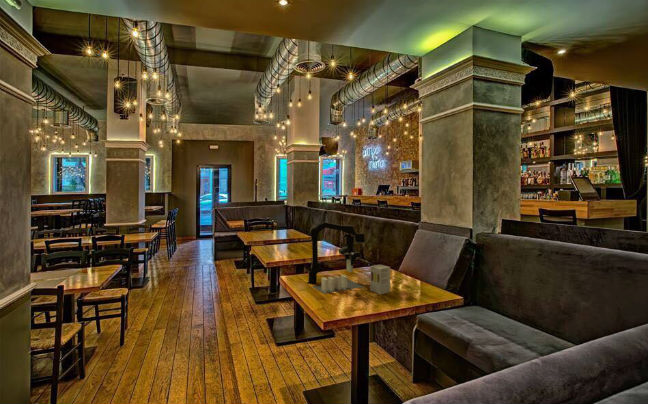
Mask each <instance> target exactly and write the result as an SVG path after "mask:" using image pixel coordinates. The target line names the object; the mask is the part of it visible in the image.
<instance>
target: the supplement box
mask: <svg viewBox="0 0 648 404" xmlns="http://www.w3.org/2000/svg"><path fill="white" fill-rule="evenodd" d="M369 277H370V281H369V283H370V285H369V288H370V289H369V291H371V292H374V293H376V294H377V295H383V294H389V293H390V291H391V289H390V287H391V266H387V265H385V264H374V265H371V266H370V276H369Z"/></svg>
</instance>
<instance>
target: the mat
mask: <svg viewBox="0 0 648 404" xmlns="http://www.w3.org/2000/svg"><path fill="white" fill-rule="evenodd" d="M311 287H312V288H313V289H315V290H317V291H318V292H321V293H323V294H330V293H336V292H343V291H347V290H353V289H360V288H365V287H366V286H365V285H362V284H360V283H358V282H356V281H354V280H351V279H349V280H347V289H344V288H342V287H341V290H338V289H336V288H334V291H331V290H329V289H328V292H324V291H322V290H321V284H319V285H312V286H311Z"/></svg>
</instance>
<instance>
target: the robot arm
mask: <svg viewBox="0 0 648 404" xmlns="http://www.w3.org/2000/svg"><path fill="white" fill-rule="evenodd" d="M325 229H331V230H336V231H339V232H344V234H343V235H342V236H343V238H345V243H344V245H343V247H341V248H339V249H337V250H338V254H339V255H341V256H343V257H344V258H345V259H344V260H345V262H346V264H347V259H350V261H351V266H352V265H353V266H354V263H355V261H356V259H357V258H359V257H361V253H360V252H358V251H356V250H355V249H354V248H355V247H356V244H365V241H366V239H365V234H364V232H361V233H357V232H356V231H355V227H354V226H352V225H350V224H338V223H332V222H327V221H322V222H321V223H319V224H318V225H315V226H313V227H311V228H310V230H309V234H310V236H311V237H310V238H311V250H312V253H311V254H312V256H311V257H312V260H311V265H310V268H309V269H308V271H307V273H308V274H307V275H308V281H306V284H308V285H315V284H319V282H317V281H318V279H317V275H318V273H319V272H320V271H321V262H320V261H319V258H318V256H319V255H318V252H319V251H318V238H319V233H320V232H322V231H323V230H325ZM354 242H355V243H356V244H355V243H354Z"/></svg>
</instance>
